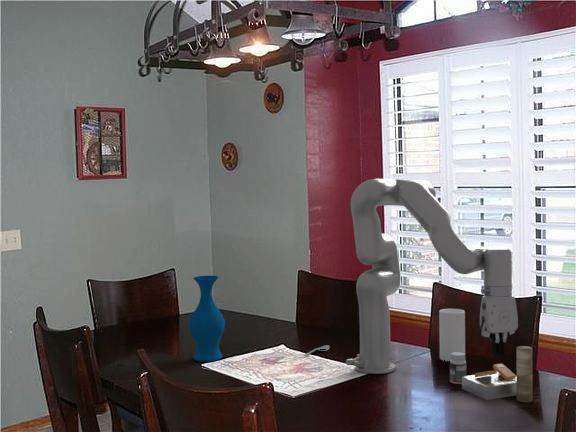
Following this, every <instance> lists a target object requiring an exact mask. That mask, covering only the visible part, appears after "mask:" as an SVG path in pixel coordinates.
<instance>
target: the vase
mask: <svg viewBox="0 0 576 432" xmlns="http://www.w3.org/2000/svg"><path fill="white" fill-rule="evenodd" d="M218 279H219V276H217V275H201V276H200V275H199V276H198V275H197V276H194V277H193V280H194V281H195V282H196V283H197V285H198V286H199V290H200V298H199V302H198V304H197V307H196V308H195V310H194V311H193V313H192V315H191V316H190V318H189V321H188V327H189V332H190V334H191V337H192V338H193V340H194V342H195V345H196V351H195V354H194V355H193V357H192V358H193V360H195V361H197V362H202V363H203V362H205V363H207V362H215V361H219V360H221V359H222V358H223V353H221V351H220V348H219V344H220V341H221V338H222V336H223V333H224V332H225V327H226V321H225V317H224V315H223V313H222V312H221V311H220V310H219V308H218V306H217V305H216V304H215V302H214V298H213V286H214V284H215V282H216V281H217V280H218Z"/></svg>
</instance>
